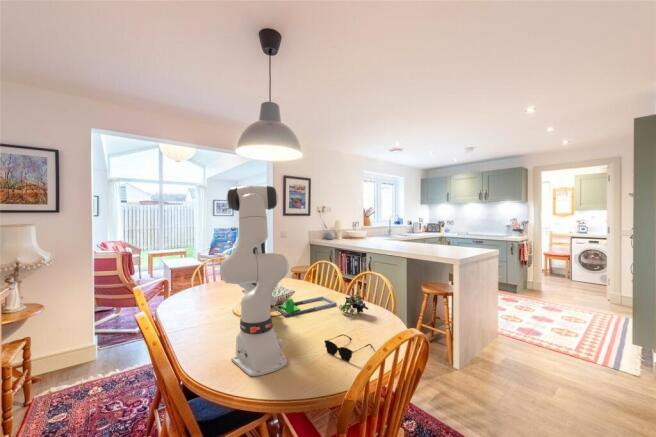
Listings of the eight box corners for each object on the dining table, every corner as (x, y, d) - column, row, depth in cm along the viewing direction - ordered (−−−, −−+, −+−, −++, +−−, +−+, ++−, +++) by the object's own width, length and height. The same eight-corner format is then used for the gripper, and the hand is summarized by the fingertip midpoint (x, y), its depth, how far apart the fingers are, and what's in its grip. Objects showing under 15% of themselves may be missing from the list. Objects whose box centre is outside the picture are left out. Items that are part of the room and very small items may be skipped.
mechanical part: (300, 312, 152) (300, 298, 152) (290, 315, 149) (290, 300, 148) (289, 306, 162) (289, 293, 162) (280, 308, 158) (280, 295, 158)
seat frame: (314, 310, 155) (314, 308, 155) (285, 317, 145) (285, 315, 145) (301, 302, 168) (301, 300, 168) (273, 308, 158) (273, 306, 158)
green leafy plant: (358, 323, 151) (373, 305, 149) (348, 327, 141) (364, 307, 138) (342, 306, 158) (356, 289, 155) (332, 309, 147) (346, 290, 145)
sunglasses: (323, 352, 109) (324, 339, 109) (348, 340, 121) (348, 329, 121) (351, 365, 100) (352, 351, 100) (375, 351, 112) (375, 338, 112)
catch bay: (336, 305, 163) (336, 302, 163) (314, 310, 155) (314, 307, 155) (322, 298, 176) (322, 296, 176) (301, 303, 168) (301, 300, 168)
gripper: (268, 288, 137) (286, 304, 142) (255, 280, 154) (271, 294, 160) (259, 298, 135) (278, 314, 140) (247, 289, 152) (264, 303, 157)
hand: (274, 303), depth 150 cm, fingers closed
